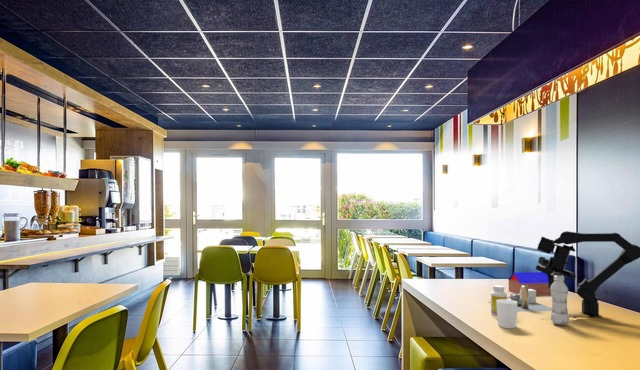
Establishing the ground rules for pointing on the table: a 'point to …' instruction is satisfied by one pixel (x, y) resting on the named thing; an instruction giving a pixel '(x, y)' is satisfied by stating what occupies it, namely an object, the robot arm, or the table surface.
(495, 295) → the supplement bottle
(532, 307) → the stand
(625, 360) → the table surface
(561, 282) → the plastic bottle
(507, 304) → the white cup
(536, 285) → the house
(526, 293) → the crank handle
